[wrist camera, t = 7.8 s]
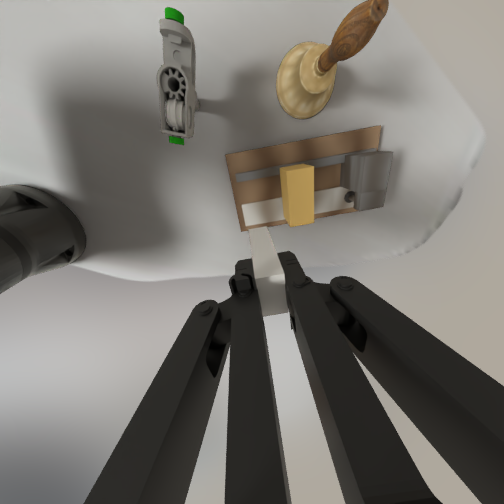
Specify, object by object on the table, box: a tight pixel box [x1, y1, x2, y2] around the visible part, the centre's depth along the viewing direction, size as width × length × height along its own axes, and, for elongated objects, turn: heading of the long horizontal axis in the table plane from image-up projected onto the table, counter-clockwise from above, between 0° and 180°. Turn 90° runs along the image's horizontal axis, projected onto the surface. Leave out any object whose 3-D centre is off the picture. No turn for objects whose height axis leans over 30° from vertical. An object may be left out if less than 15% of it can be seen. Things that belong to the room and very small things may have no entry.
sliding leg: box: [280, 164, 314, 227], centre depth 29 cm, size 4×8×6 cm, turn 10°
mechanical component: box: [157, 7, 200, 145], centre depth 23 cm, size 3×10×10 cm, turn 171°
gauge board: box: [225, 125, 393, 232], centre depth 30 cm, size 24×13×8 cm, turn 99°
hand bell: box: [276, 0, 389, 119], centre depth 20 cm, size 8×8×16 cm
